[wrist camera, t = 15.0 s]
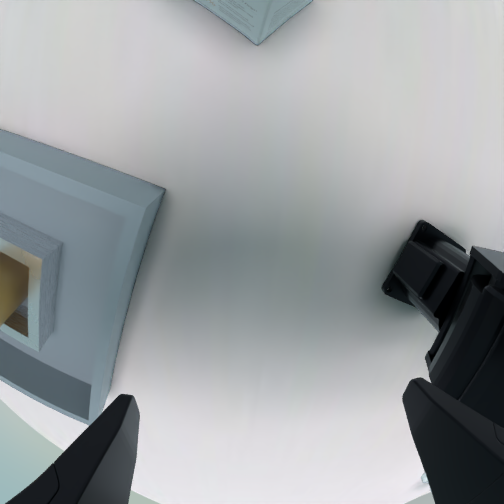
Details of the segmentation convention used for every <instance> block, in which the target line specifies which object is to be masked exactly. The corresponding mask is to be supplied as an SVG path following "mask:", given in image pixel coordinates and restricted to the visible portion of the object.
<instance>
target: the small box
mask: <svg viewBox="0 0 504 504" xmlns="http://www.w3.org/2000/svg"><path fill="white" fill-rule="evenodd" d="M195 1H196V2H198V3H199V4H201V5H202V6H204V7H205V8H207V9H208V10H210V11H211V12H213V13H214V14H216V15H217V16H218V17H220V18H221V19H223V20H224V21H226V22H227V23H228V24H230V25H231V26H233V27H234V28H235V29H237V30H238V31H239V32H241V33H242V34H243V35H245V36H246V37H247V38H248V39H250V40H251V41H252V42H253V43H254V44H256V45H259V44H260V43H261V42H262V41H263V40H264V39H265V38H267V37H268V36H269V35H270V34H271V33H272V32H274V31H275V30H276V29H277V28H278V27H280V26H281V25H282V24H283V23H284V22H286V21H287V20H288V19H289V18H291V17H292V16H293V15H295V14H296V13H297V12H298V11H300V10H301V9H302V8H304V7H305V6H306V5H307V4H309V3H310V2H311V1H313V0H195Z"/></svg>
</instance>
